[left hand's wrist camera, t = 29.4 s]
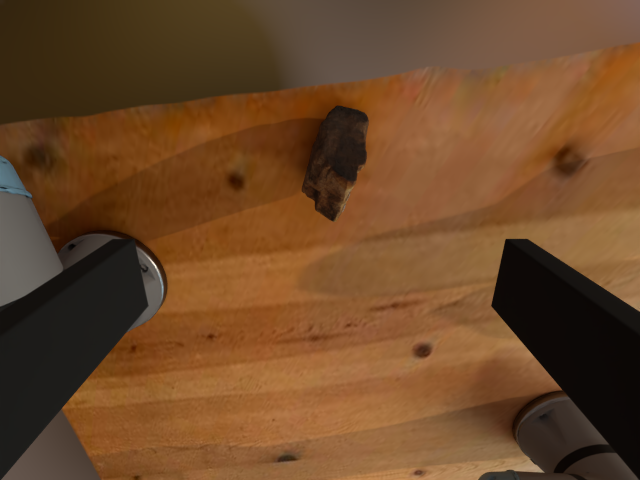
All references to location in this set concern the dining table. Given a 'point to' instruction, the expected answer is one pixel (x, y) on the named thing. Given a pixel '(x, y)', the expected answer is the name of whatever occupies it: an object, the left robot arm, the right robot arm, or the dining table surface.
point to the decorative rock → (336, 160)
